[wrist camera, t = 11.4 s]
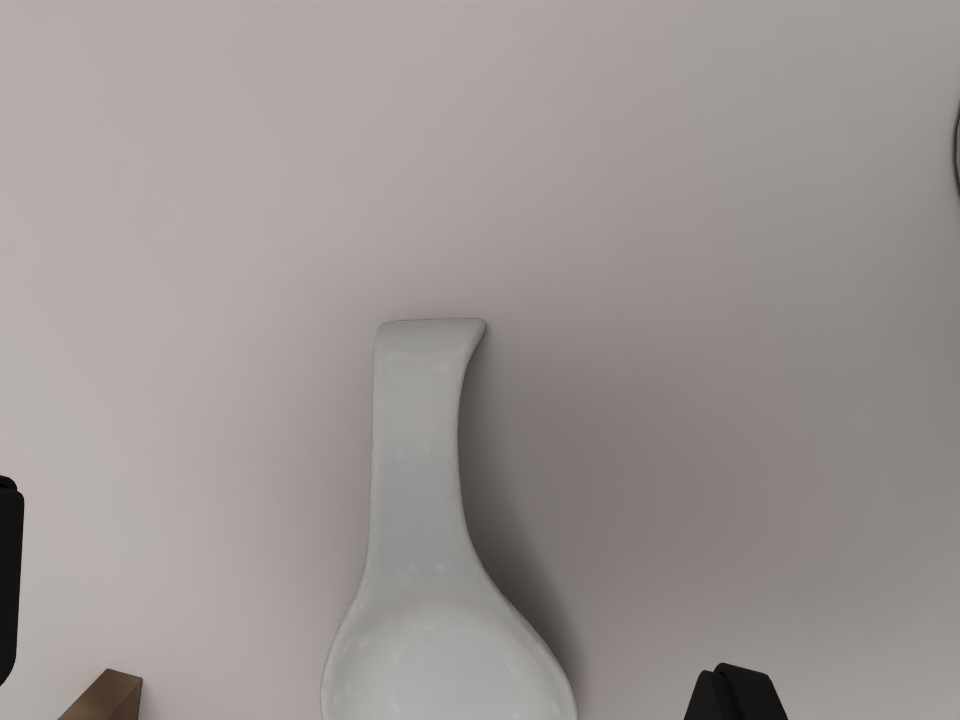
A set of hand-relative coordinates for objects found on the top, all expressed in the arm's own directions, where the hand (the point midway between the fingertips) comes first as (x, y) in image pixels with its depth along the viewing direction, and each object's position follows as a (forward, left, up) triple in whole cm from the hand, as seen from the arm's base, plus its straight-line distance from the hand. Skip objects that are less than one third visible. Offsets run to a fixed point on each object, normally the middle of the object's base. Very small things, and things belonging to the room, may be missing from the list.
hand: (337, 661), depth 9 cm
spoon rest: (0, +11, -23) cm, 25 cm away
